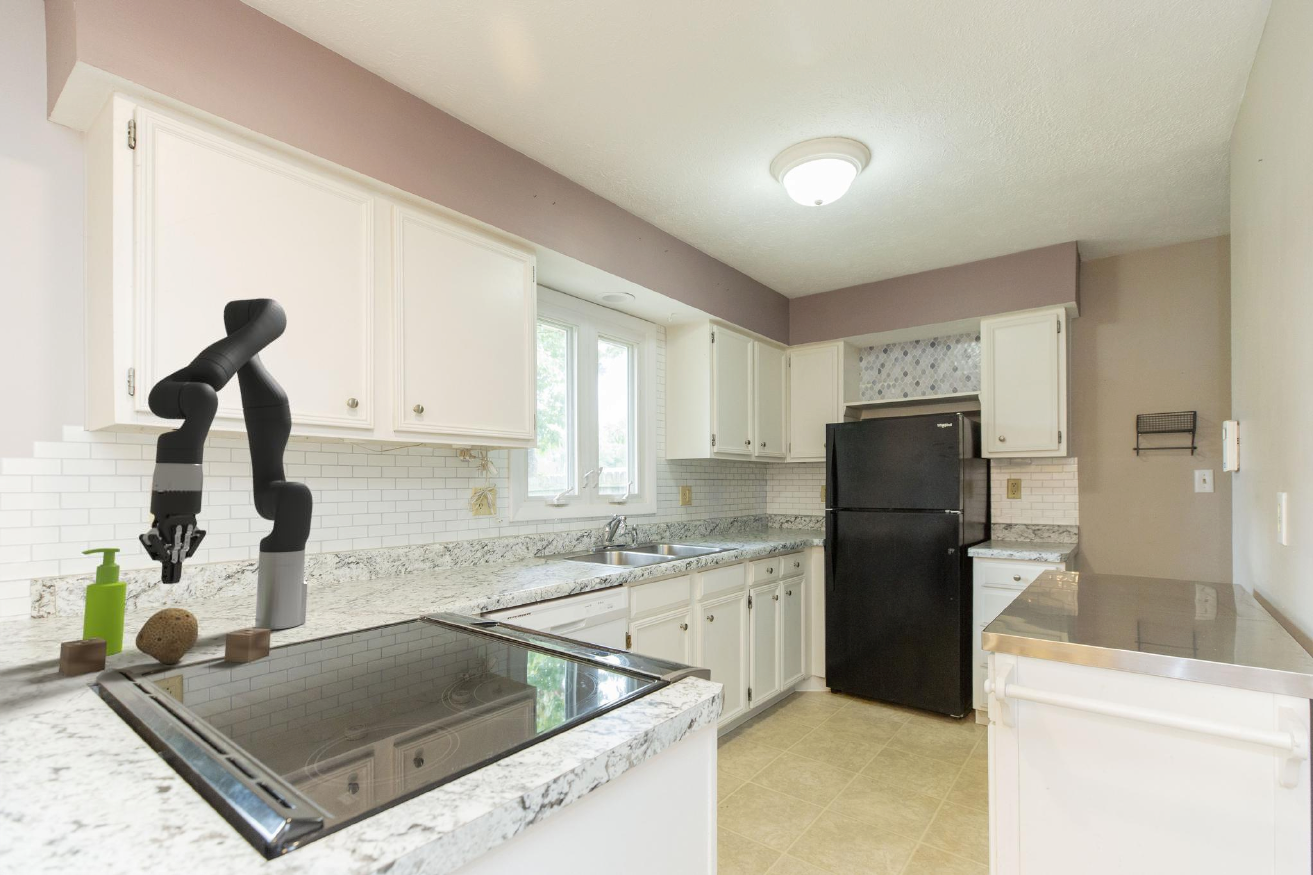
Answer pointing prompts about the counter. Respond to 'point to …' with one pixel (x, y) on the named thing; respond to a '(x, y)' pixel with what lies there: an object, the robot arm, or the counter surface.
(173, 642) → the natural sponge
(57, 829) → the counter surface
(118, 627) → the soap dispenser
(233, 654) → the walnut block two pips
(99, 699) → the counter surface
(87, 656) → the walnut block three pips
